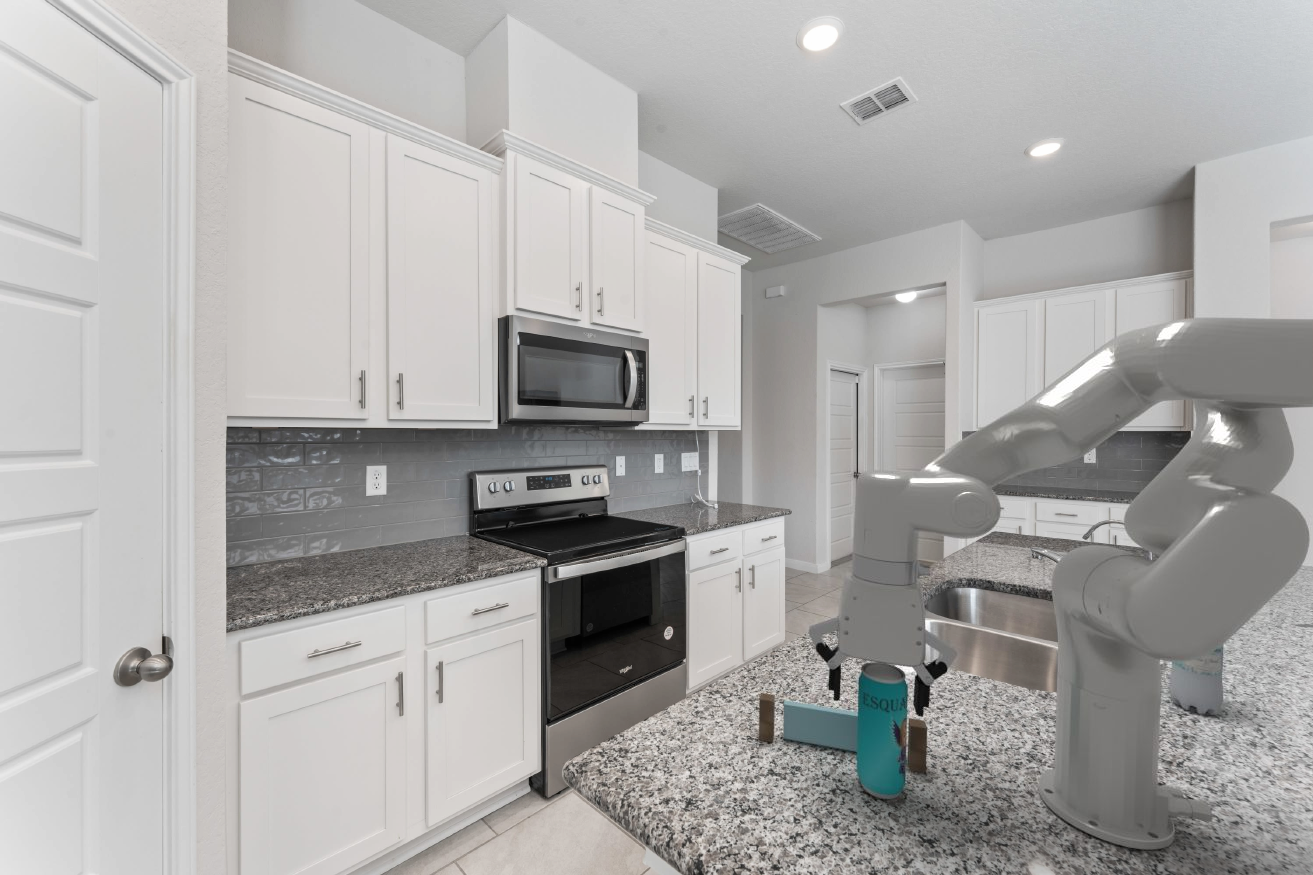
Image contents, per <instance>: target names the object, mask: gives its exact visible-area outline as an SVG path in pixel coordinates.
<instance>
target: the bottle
mask: <svg viewBox="0 0 1313 875" xmlns="http://www.w3.org/2000/svg"><path fill="white" fill-rule="evenodd" d="M1224 645H1225V643H1224V644H1223V645H1222V646H1220V647H1219V648H1218V649H1216V650H1215V651H1213V652H1212V653H1210V654H1208V655H1206V656H1204V657H1202V658H1199V659H1196V660H1193V661H1188V662H1171V669H1170V670H1171V671H1170V676H1169V677H1170V678H1169V688H1168V689H1169V695H1170V698H1171V699H1170V700H1171V701H1172V702H1173V703H1174V704H1175V705H1177V706H1181V708H1182V709H1184V710H1185V711H1189V710H1190V709H1191V706H1192V707H1195V708H1196V711H1197V714H1199V715H1205V714H1206V713H1208V714H1209V715H1210V716H1215V715H1217V714H1219V712H1220V711H1221V709H1222V706H1223V702H1224V688H1223V687H1224V686H1223V685H1224V684H1223V670H1224V668H1223V667H1224V666H1223V665H1224V664H1223V663H1224Z"/></svg>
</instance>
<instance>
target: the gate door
mask: <svg viewBox="0 0 1313 875" xmlns="http://www.w3.org/2000/svg"><path fill="white" fill-rule="evenodd" d="M857 728H858V711H853V710H848V709H841V708H836V707H828V706H821V705H816V704H810V703H803V702H797V701H791V700H786V699H785V700H784V701H783V726H782V730H783V736H782V738H783V739H787V740H792V741H797V742H803V743H808V744H812V745H818V746H823V747H829V748H835V749H841V750H846V751H852V752H856V753H857Z"/></svg>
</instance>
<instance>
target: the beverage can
mask: <svg viewBox="0 0 1313 875" xmlns="http://www.w3.org/2000/svg"><path fill="white" fill-rule="evenodd" d="M860 669H861V670H860V671H861V673H860V675H859V676H858V683H857V684H858V687H857V689H858V690H857V691H858V692H857V712H858V728H857V752H856V773H857V775H858V778H859V781H860V784H861V786H862V788H863V789H864V790H865V791H866V793H868V794H870V795H871V796H873V797H875V798H878V799H883V800H892V799H896V798H897V797H899V796H900V794H901V793H902V790H903V789H904V786H905V784H906V780H907V779H906V778H907V777H906V776H907V743H908V740H907V739H908V736H907V735H908V733H907V732H908V700H909V699H908V698H909V697H908V694H909V692H908V690H909V688H908V687H909V686H908V683H907V681H906V677H907V676H906V673H905V672H904V670H903V669H901V668H900V667H899V666H897V665H892V664H886V663H880V662H874V661H869V662H866V663H864V664H862V666H861V668H860Z"/></svg>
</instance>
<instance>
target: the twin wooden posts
mask: <svg viewBox="0 0 1313 875" xmlns="http://www.w3.org/2000/svg"><path fill="white" fill-rule="evenodd" d="M775 697H776V695H775V694H771V693H766V692H765V693H764V692H761V693H760V695H759V698H758V699H759V700H758V701H759V703H758V705H759V706H758V741H762V742H767V743H768V742H769V743H773V742H774V738H775V715H776V714H775V708H776V707H775V704H776V698H775ZM907 732H908V733H907V735H908V736H907V739H908V740H907V765H908V769H909V771H913V772H918V773H922V774H927V758H928V756H927V754H928V753H927V752H928V749H927V748H928V747H927V746H928V726H927V724H926V720H924V719H923V720H922V719H917V718H909V717H908V725H907Z"/></svg>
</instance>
